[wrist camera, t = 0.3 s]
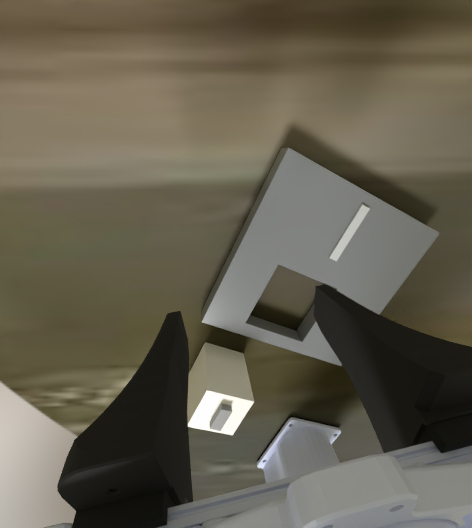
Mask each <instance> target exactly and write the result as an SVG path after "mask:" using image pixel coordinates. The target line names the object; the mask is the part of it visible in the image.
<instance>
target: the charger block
mask: <svg viewBox="0 0 472 528" xmlns="http://www.w3.org/2000/svg"><path fill="white" fill-rule="evenodd" d="M253 403H254V399H253V394H252V390H251V385H250V381H249V376H248V372H247V367H246V363H245V358H244V354H243V353H240V352H237V351H233V350H230V349H227V348H223V347H220V346H217V345H213V344H210V343H206V342H205V343H204V345H203V347H202V349H201V351H200V353H199V355H198V357H197V359H196V361H195V363H194V365H193V367H192V369H191V370H190V372H189V383H188V408H187V417H188V427H193V428H198V429H203V430H208V431H213V432H218V433H223V434H229V435H233V434H234V432H235V430H236V429H237V427H238V426H239V424H240V423H241V421H242V420H243V418H244V417H245V415H246V413H247V412H248V410H249V409H250V407H251V406H252V404H253Z"/></svg>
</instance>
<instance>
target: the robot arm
mask: <svg viewBox="0 0 472 528" xmlns="http://www.w3.org/2000/svg"><path fill="white" fill-rule="evenodd" d="M314 317H315V320H316V322H317V324H318V326H319V328H320V330H321V332H322V334H323V336H324V337H325V339H326V340H327V342H328V344H329V345H330V347H331V348H332V350H333V351H334V353H335V354H336V356H337V357H338V359H339V361H340V362H341V364H342V365H343V367H344V369H345V370H346V372H347V374H348V375H349V377H350V379H351V381H352V383H353V385H354V387H355V389H356V391H357V393H358V395H359V397H360V399H361V402H362V404H363V406H364V408H365V410H366V412H367V414H368V417H369V419H370V421H371V423H372V426H373V428H374V430H375V432H376V435H377V437H378V439H379V442H380V444H381V447H382V449H383V452H384V453H383V454H374V455H370V456H366V457H362V458H358V459H354V460H350V461H346V462H342V463H340V462H339V460H338V458H337V456H336V453H335V451H334V449H333V447H332V445H331V444H332V443H333V442H334V440H335V439H336V438H337V437H338V436H339V434H340V433H341V430H340V429H339V428H337V427H333V426H328V425H324V424H320V423H316V422H311V421H307V420H303V419H298V418H294V417H291V418H289V419H288V421H287V422H286V423H285V425H284V426H283V428H282V429H281V430H280V432H279V433H278V434H277V436H276V437H275V439H274V440H273V441H272V443H271V444H270V446H269V447H268V448H267V450H266V451H265V452H264V454H263V455H262V457H261V458H260V459H259V461H258V462H257V467H258V468H263V470H264V475H265V480H266V483H265V484H261V485H257V486H253V487H249V488H245V489H241V490H237V491H233V492H229V493H225V494H222V495H218V496H214V497H210V498H206V499H202V500H198V501H194V502H193V495H192V482H191V468H190V453H189V436H188V417H187V394H188V373H189V349H188V339H187V335H186V331H185V327H184V323H183V319H182V316H181V312H180V311H178V312H172V313H168V314H167V315H166V318H165V320H164V323H163V325H162V327H161V330H160V332H159V334H158V336H157V338H156V340H155V342H154V344H153V346H152V347H151V349H150V351H149V353H148V354H147V356H146V358H145V359H144V361H143V363H142V364H141V366H140V367H139V369H138V370H137V372H136V373H135V375H134V376H133V377H132V379H131V380H130V381H129V383H128V384H127V385H126V387H125V388H124V389H123V390H122V392H121V393H120V394H119V395H118V397H117V398H116V399H115V400H114V401H113V402H112V403H111V404H110V405H109V407H108V408H107V409H106V410H105V411H104V412H103V413H102V414H101V415H100V416H99V417H98V418H97V419H96V420H95V421H94V422H93V423H92V424H91V425H90V426H89V427H88V428H87V429H86V430H85V431H84V432H83V433H82V434H81V435H80V436H78V437H77V438H76V439H75V440H74V443H73V445H72V447H71V449H70V451H69V454H68V456H67V459H66V462H65V464H64V468H63V470H62V473H61V477H60V480H59V483H58V492H59V493H60V495H61V497H62V498H63V499H64V500H65V501H66V502H68V504H70V505H71V506H72V507H73V508H74V509H75V510H76V515H75V518H74V522H73V524H71V523H62V524H57V525H53V526H49V527H45V528H472V347H469V346H465V345H461V344H457V343H453V342H449V341H446V340H443V339H439V338H436V337H433V336H430V335H427V334H424V333H421V332H418V331H416V330H413V329H410V328H408V327H405V326H403V325H400V324H398V323H396V322H393V321H391V320H389V319H387V318H385V317H383V316H381V315H379V314H377V313H375V312H373V311H371V310H369V309H367V308H366V307H364V306H362V305H360V304H358V303H357V302H355V301H353V300H352V299H350V298H348V297H347V296H345V295H344V294H342V293H340V292H339V291H337V290H335V289H334V288H332V287H330V286H329V285H327V284H326V285H321V286H316V292H315V304H314Z"/></svg>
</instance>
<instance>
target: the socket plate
mask: <svg viewBox="0 0 472 528" xmlns="http://www.w3.org/2000/svg"><path fill="white" fill-rule="evenodd" d="M439 234H440V233H439V232H437V231H435V230H433V229H432V228H430V227H428V226H426V225H425V224H423V223H421V222H419V221H418V220H416V219H414V218H412V217H410V216H409V215H407V214H405V213H403V212H402V211H400V210H398V209H396V208H395V207H393V206H391V205H389V204H387V203H386V202H384V201H382V200H380V199H379V198H377V197H375V196H373V195H372V194H370V193H368V192H366V191H364V190H363V189H361V188H359V187H357V186H356V185H354V184H352V183H350V182H349V181H347V180H345V179H343V178H341V177H340V176H338V175H336V174H334V173H333V172H331V171H329V170H327V169H326V168H324V167H322V166H320V165H319V164H317V163H315V162H313V161H311V160H310V159H308V158H306V157H304V156H303V155H301V154H299V153H297V152H296V151H294V150H292V149H290V148H281V150H280V152H279V154H278V156H277V158H276V160H275V162H274V164H273V166H272V168H271V170H270V172H269V174H268V176H267V178H266V180H265V182H264V184H263V186H262V188H261V190H260V193H259V195H258V197H257V199H256V201H255V203H254V205H253V207H252V209H251V211H250V213H249V215H248V217H247V219H246V221H245V223H244V225H243V227H242V229H241V231H240V233H239V235H238V237H237V240H236V242H235V244H234V246H233V248H232V250H231V252H230V254H229V256H228V258H227V260H226V262H225V264H224V266H223V268H222V270H221V272H220V274H219V276H218V278H217V280H216V282H215V284H214V286H213V289H212V291H211V293H210V295H209V297H208V299H207V301H206V303H205V305H204V307H203V309H202V311H201V316H202V322H203V323H206V324H209V325H212V326H215V327H218V328H222V329H225V330H228V331H231V332H234V333H238V334H241V335H244V336H247V337H250V338H253V339H257V340H260V341H263V342H266V343H269V344H272V345H276V346H279V347H282V348H285V349H288V350H291V351H295V352H298V353H301V354H304V355H307V356H310V357H314V358H317V359H320V360H323V361H326V362H329V363H333V364H336V365H339V366H341V365H342V364H341V362H340V361H339V359H338V357H337V356H336V354H335V353H334V351H333V350H332V348H331V347H330V345H329V344H328V342H327V340H326V339H325V337H324V336H323V334H322V332H321V330H320V328H319V326H318V324H317V322H316V320H315V317H314V304H315V302H314V304H313V305H312V307H311V309H310V310H309V312H308V313H307V315H306V316H305V318H304V319H303V321H302V323H301V324H300V326H299V327H298V329H297V330H296V331H295V330H292V329H289V328H286V327H284V326H281V325H278V324H275V323H272V322H269V321H266V320H263V319H260V318H257V317H254V316H251V315H250V314H251V312H252V310H253V309H254V307H255V305H256V303H257V301H258V300H259V298H260V296H261V294H262V292H263V291H264V289H265V287H266V285H267V284H268V282H269V280H270V278H271V276H272V275H273V273H274V271H275V269H276V268H277V266H278V264H279V265H281V266H284V267H286V268H288V269H291V270H293V271H296V272H298V273H300V274H303V275H305V276H308V277H310V278H312V279H315V280H317V281H320V282H322V283H325V284H327V285H329V286H330V287H332V288H334V289H335V290H337V291H339V292H340V293H342V294H344V295H345V296H347V297H348V298H350V299H352V300H353V301H355V302H357V303H358V304H360V305H362V306H364V307H366V308H367V309H369V310H371V311H373V312H375V313H377V314H380V313H381V312H382V310H383V309H384V308H385V306H386V305H387V304H388V302H389V301H390V300H391V298H392V297H393V296H394V294H395V293H396V292H397V290H398V289H399V288H400V286H401V285H402V284H403V282H404V281H405V279H406V278H407V277H408V275H409V274H410V273H411V271H412V270H413V269H414V267H415V266H416V265H417V263H418V262H419V261H420V259H421V258H422V257H423V255H424V254H425V253H426V251H427V250H428V249H429V247H430V246H431V245H432V243H433V242H434V241H435V239H436V238H437V236H438V235H439Z"/></svg>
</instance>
